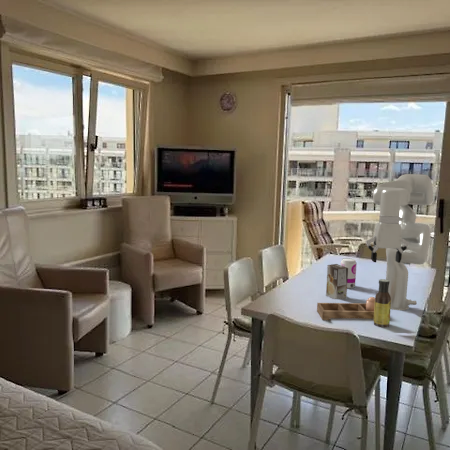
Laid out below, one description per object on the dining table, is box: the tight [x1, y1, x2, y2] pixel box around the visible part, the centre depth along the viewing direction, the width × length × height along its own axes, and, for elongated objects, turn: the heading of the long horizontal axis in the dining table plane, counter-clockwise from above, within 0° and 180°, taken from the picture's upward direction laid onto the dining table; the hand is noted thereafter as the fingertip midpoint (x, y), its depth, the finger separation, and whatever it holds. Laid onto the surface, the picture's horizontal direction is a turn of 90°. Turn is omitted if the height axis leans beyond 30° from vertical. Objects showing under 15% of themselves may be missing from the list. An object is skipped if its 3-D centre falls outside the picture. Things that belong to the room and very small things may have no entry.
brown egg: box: [365, 296, 375, 311], centre depth 191 cm, size 5×5×8 cm
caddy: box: [316, 302, 374, 321], centre depth 191 cm, size 28×11×4 cm, turn 90°
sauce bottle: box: [373, 278, 392, 328], centre depth 178 cm, size 6×6×20 cm
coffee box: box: [325, 263, 348, 300], centre depth 216 cm, size 9×6×16 cm
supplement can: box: [340, 257, 358, 289], centre depth 235 cm, size 8×8×15 cm
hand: (385, 261), depth 175 cm, fingers open, 9 cm apart
